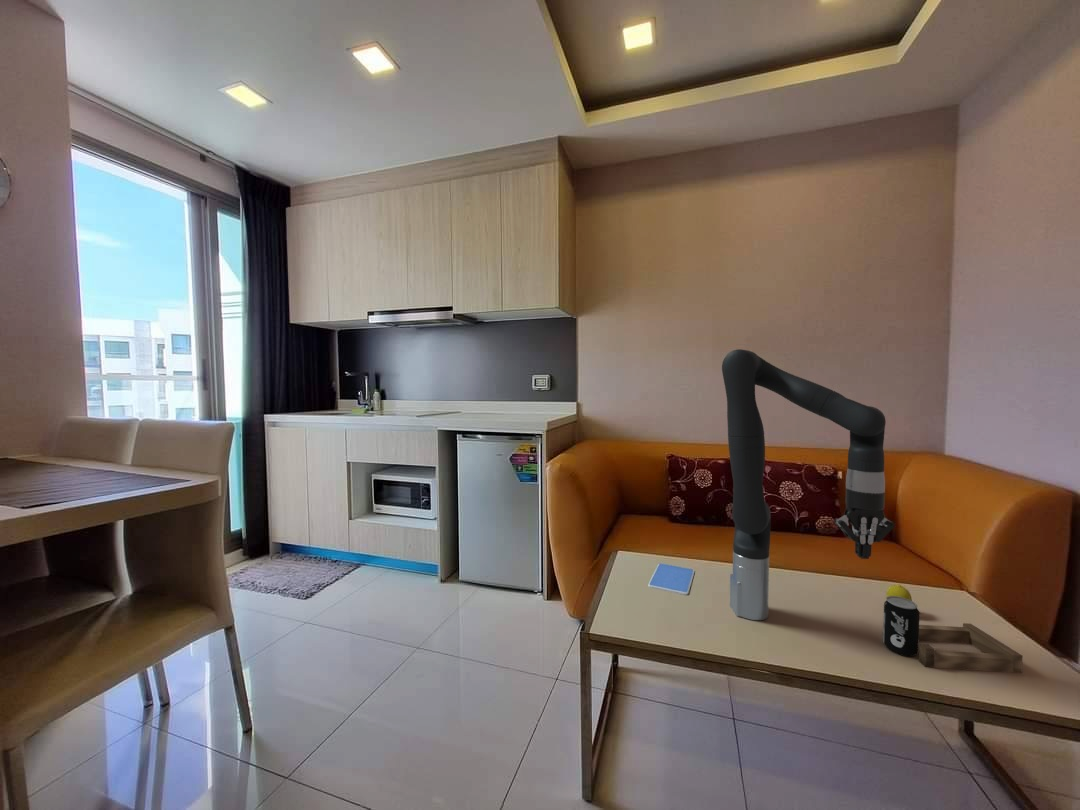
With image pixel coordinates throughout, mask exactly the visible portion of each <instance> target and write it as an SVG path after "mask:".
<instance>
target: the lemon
mask: <svg viewBox="0 0 1080 810" xmlns="http://www.w3.org/2000/svg"><path fill="white" fill-rule="evenodd" d="M888 596H897V597H902V598H905V599H908V600H911V601H913V599H912V595H911V593H910V591H909V590H908V589H907V588H906V587H904V586H902V584H893V585H891V586H889V587H888V588H887V591H886V595H885V598H887V597H888Z"/></svg>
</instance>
